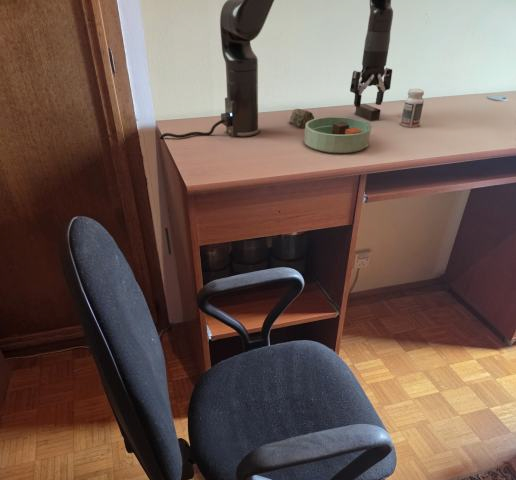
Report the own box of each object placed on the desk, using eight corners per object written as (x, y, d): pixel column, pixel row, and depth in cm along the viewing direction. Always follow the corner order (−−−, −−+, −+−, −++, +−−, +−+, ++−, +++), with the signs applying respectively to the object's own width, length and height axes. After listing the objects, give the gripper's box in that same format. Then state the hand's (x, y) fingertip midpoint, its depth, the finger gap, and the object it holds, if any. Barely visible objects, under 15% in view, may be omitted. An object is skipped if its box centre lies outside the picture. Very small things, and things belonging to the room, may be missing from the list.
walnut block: (338, 139, 133) (339, 126, 130) (331, 135, 135) (333, 123, 133) (348, 137, 134) (349, 124, 132) (341, 134, 136) (342, 121, 134)
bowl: (325, 158, 122) (327, 139, 119) (293, 139, 135) (293, 121, 131) (381, 148, 128) (384, 129, 125) (345, 131, 141) (347, 113, 137)
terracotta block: (350, 145, 128) (352, 132, 126) (343, 142, 131) (345, 129, 128) (360, 143, 129) (362, 130, 127) (354, 140, 132) (355, 127, 129)
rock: (283, 125, 146) (284, 109, 143) (296, 119, 151) (297, 104, 148) (302, 128, 143) (303, 113, 140) (314, 123, 147) (316, 108, 144)
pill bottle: (417, 122, 148) (424, 88, 141) (420, 127, 143) (427, 92, 137) (399, 122, 148) (405, 88, 141) (401, 127, 144) (408, 92, 137)
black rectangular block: (379, 119, 150) (380, 109, 148) (370, 120, 149) (371, 110, 147) (363, 113, 157) (364, 103, 155) (355, 114, 155) (356, 104, 154)
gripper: (387, 45, 145) (378, 101, 155) (350, 48, 140) (343, 105, 151) (402, 48, 140) (391, 106, 150) (364, 51, 135) (356, 110, 146)
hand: (367, 105), depth 150 cm, fingers open, 8 cm apart
